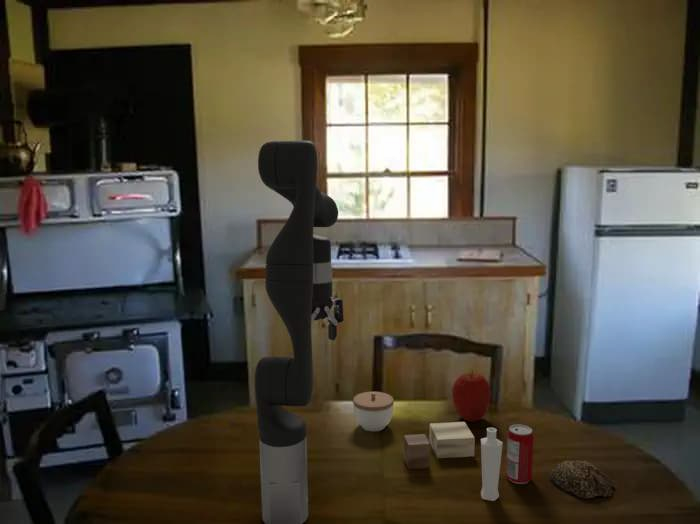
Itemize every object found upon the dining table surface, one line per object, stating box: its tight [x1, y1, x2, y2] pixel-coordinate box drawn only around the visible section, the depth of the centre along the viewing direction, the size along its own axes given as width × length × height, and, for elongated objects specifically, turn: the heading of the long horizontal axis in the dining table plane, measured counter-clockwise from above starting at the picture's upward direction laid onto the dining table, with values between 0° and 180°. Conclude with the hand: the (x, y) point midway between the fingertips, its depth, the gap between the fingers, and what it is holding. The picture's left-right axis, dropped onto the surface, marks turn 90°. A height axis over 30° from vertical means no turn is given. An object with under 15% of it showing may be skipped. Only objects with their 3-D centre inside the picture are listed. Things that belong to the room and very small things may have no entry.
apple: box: [451, 370, 492, 423], centre depth 171 cm, size 10×10×14 cm
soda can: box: [505, 423, 534, 485], centre depth 140 cm, size 6×6×12 cm
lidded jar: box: [352, 391, 395, 432], centre depth 168 cm, size 11×11×9 cm
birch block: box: [428, 421, 476, 459], centre depth 155 cm, size 9×9×5 cm
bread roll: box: [548, 460, 615, 500], centre depth 139 cm, size 13×12×5 cm
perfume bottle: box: [480, 427, 504, 502], centre depth 133 cm, size 5×4×15 cm
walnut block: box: [403, 433, 431, 470], centre depth 148 cm, size 5×5×6 cm
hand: (318, 342), depth 159 cm, fingers open, 8 cm apart
